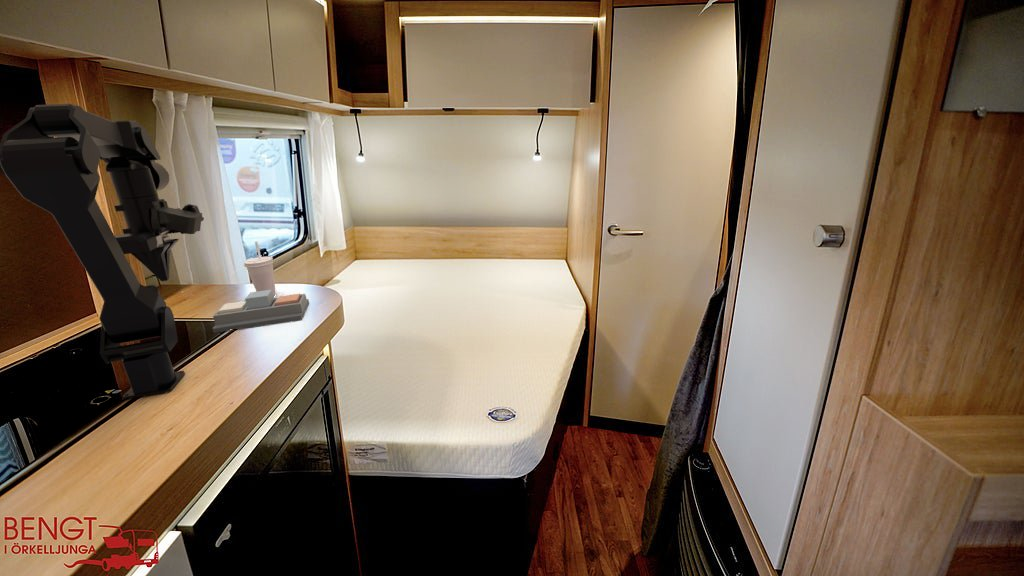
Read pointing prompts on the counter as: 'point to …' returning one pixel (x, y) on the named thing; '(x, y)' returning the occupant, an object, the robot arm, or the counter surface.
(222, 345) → the counter surface
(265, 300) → the key slate
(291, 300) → the key terracotta
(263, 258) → the smoothie
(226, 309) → the key ivory
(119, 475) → the counter surface
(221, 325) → the keypad
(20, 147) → the robot arm
